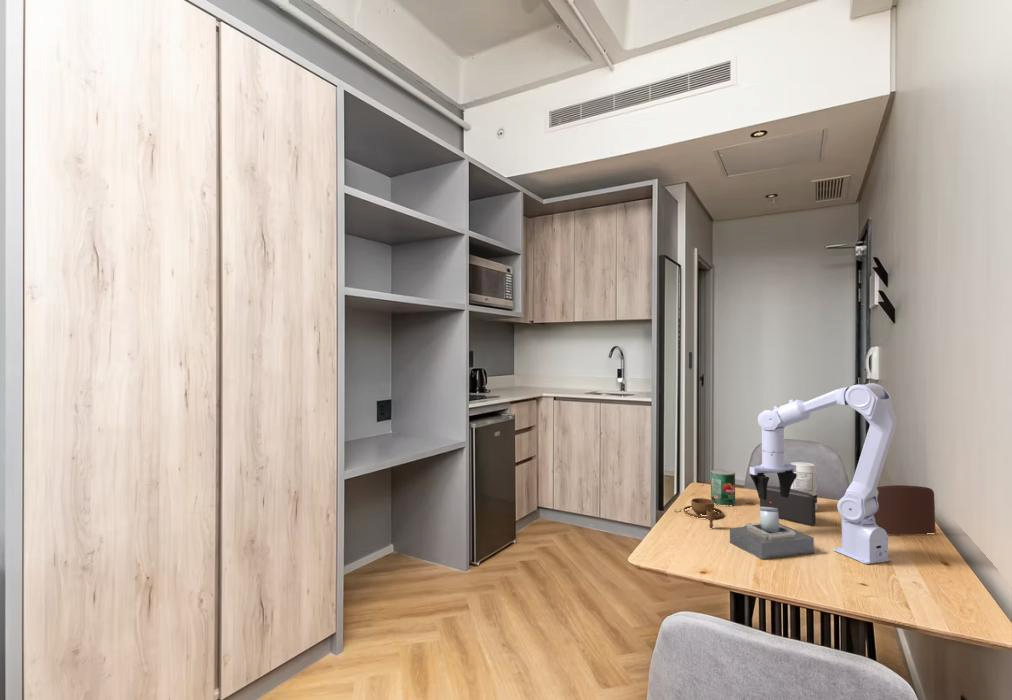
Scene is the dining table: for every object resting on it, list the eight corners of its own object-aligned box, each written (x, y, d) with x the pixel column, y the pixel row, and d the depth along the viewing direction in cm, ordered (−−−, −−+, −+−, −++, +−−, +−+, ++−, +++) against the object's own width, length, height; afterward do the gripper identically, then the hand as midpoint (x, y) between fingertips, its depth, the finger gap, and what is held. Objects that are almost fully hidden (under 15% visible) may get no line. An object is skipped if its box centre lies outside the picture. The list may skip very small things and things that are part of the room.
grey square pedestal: (813, 553, 133) (813, 532, 133) (761, 559, 129) (761, 538, 129) (768, 532, 148) (767, 514, 148) (720, 537, 144) (720, 519, 144)
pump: (783, 532, 135) (781, 508, 136) (769, 532, 134) (768, 508, 135) (770, 529, 139) (769, 506, 141) (757, 529, 138) (756, 506, 139)
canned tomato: (733, 507, 173) (733, 475, 173) (709, 504, 177) (708, 472, 177) (737, 501, 179) (736, 470, 180) (713, 498, 183) (712, 468, 184)
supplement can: (783, 506, 173) (782, 462, 173) (802, 504, 176) (801, 460, 176) (803, 513, 166) (803, 467, 166) (823, 511, 168) (822, 465, 168)
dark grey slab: (820, 524, 155) (819, 493, 156) (814, 527, 153) (813, 495, 153) (765, 512, 168) (765, 483, 168) (759, 514, 165) (758, 485, 165)
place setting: (737, 517, 165) (737, 498, 165) (716, 533, 150) (716, 513, 150) (684, 506, 176) (684, 489, 176) (659, 521, 161) (659, 502, 161)
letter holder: (936, 535, 146) (935, 485, 146) (867, 536, 145) (866, 486, 146) (908, 524, 156) (907, 477, 156) (843, 524, 155) (843, 478, 156)
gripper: (783, 447, 155) (783, 492, 154) (742, 449, 151) (742, 496, 151) (801, 451, 148) (802, 498, 148) (759, 454, 144) (760, 502, 144)
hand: (773, 497), depth 149 cm, fingers open, 7 cm apart
